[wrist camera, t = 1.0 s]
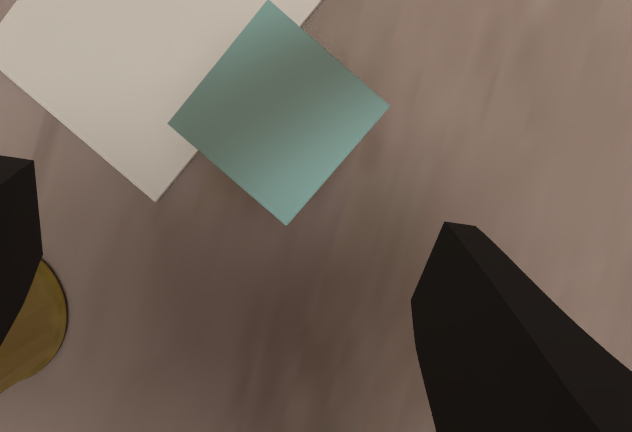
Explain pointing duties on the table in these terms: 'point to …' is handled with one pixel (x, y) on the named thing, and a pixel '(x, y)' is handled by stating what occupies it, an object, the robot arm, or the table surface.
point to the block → (278, 113)
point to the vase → (34, 330)
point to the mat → (125, 70)
